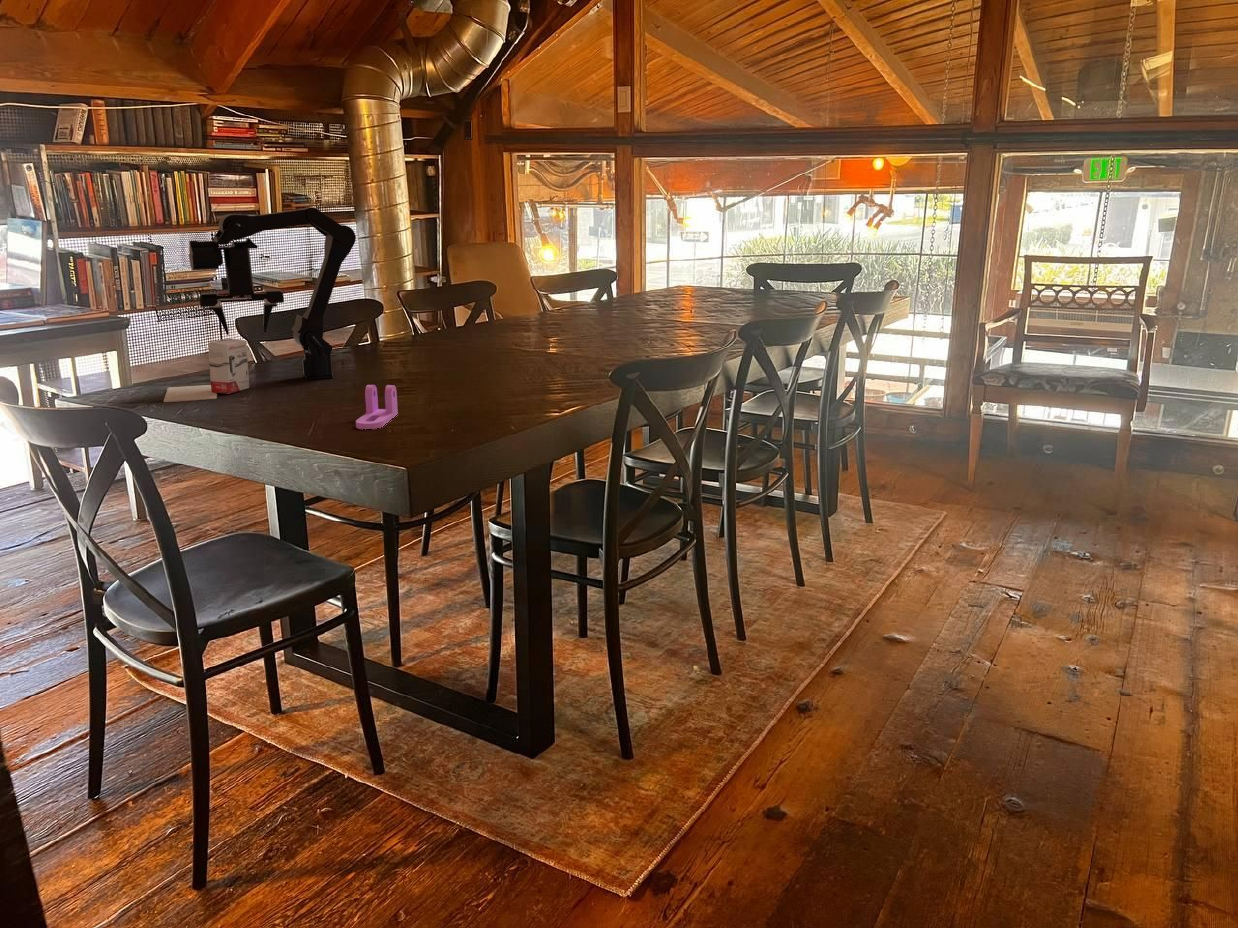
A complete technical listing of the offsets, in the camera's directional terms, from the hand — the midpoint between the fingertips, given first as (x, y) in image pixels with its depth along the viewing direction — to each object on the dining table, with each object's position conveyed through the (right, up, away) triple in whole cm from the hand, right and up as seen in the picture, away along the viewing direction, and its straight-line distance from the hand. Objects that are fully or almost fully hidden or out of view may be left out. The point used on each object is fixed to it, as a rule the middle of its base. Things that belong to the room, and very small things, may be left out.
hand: (246, 333), depth 226 cm
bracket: (+40, -23, -34) cm, 58 cm away
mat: (-9, -15, -9) cm, 20 cm away
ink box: (-2, -14, -6) cm, 16 cm away
